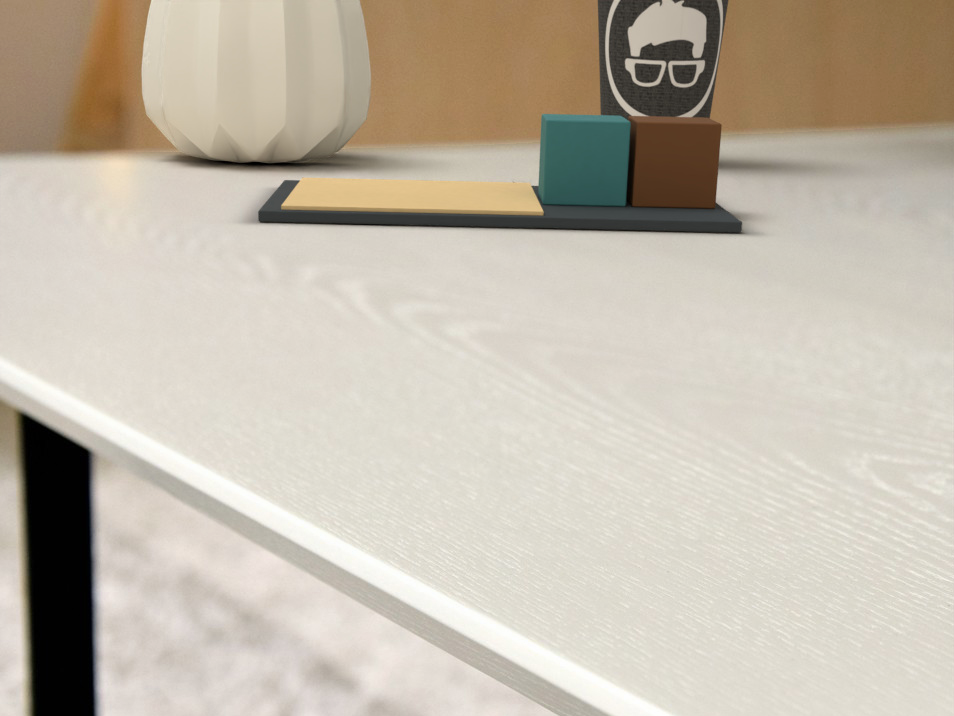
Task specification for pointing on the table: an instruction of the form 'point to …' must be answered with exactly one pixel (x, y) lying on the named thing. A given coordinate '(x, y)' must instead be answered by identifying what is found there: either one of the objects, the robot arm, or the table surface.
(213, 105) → the vase
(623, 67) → the coffee cup
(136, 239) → the table surface
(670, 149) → the word mat
